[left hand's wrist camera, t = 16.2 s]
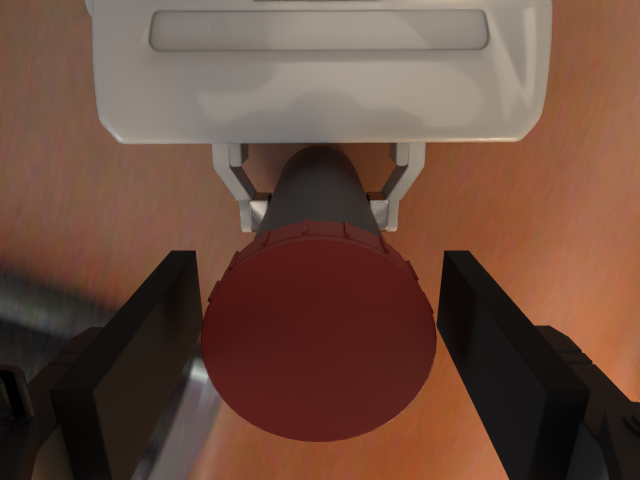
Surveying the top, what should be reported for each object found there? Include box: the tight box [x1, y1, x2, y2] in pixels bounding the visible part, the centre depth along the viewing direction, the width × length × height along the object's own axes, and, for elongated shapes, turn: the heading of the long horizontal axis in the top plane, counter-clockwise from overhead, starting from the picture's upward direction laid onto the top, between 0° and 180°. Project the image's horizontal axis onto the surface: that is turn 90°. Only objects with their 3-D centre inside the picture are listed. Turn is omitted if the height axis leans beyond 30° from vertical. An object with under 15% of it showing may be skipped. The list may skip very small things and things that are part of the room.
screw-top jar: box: [254, 146, 382, 240], centre depth 20 cm, size 5×5×18 cm
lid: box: [201, 219, 437, 442], centre depth 12 cm, size 6×6×2 cm
